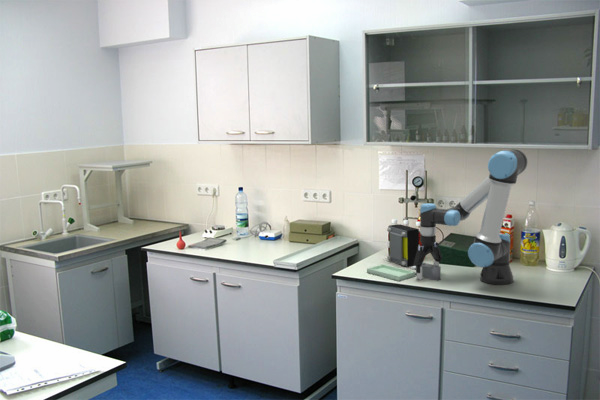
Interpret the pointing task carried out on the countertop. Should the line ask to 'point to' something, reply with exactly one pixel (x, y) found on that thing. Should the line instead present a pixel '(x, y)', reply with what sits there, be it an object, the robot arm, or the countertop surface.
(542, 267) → the countertop surface
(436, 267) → the connector
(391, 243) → the electrical component
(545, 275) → the countertop surface
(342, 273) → the countertop surface
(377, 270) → the tray
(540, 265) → the countertop surface
